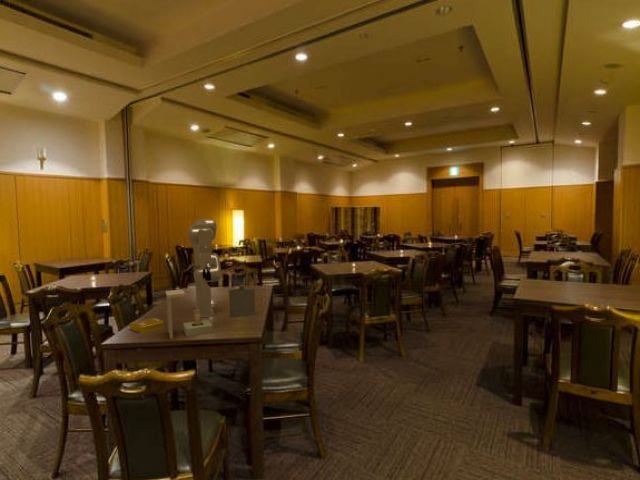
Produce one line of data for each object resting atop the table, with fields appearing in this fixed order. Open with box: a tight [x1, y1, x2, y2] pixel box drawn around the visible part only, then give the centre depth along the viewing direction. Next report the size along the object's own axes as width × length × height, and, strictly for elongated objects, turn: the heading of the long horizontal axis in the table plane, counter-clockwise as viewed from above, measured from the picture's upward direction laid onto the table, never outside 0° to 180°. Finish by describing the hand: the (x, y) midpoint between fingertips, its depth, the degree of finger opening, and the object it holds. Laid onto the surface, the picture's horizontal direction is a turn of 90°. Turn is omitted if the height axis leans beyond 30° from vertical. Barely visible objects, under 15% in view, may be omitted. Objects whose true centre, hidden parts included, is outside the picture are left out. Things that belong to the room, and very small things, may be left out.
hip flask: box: [228, 284, 256, 318], centre depth 248 cm, size 16×4×20 cm, turn 103°
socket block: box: [165, 289, 213, 340], centre depth 214 cm, size 14×22×24 cm, turn 115°
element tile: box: [129, 317, 165, 334], centre depth 225 cm, size 15×15×5 cm
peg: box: [192, 309, 202, 326], centre depth 216 cm, size 4×4×12 cm
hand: (206, 279), depth 223 cm, fingers open, 9 cm apart
